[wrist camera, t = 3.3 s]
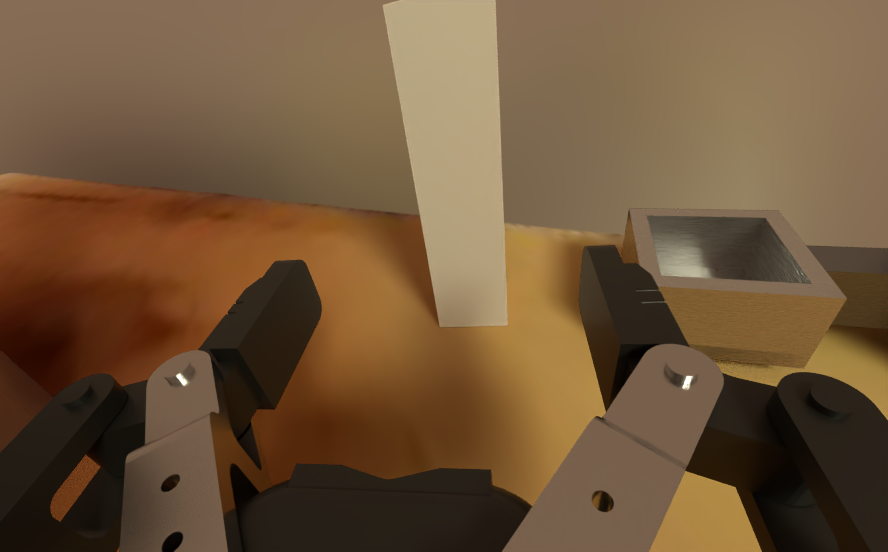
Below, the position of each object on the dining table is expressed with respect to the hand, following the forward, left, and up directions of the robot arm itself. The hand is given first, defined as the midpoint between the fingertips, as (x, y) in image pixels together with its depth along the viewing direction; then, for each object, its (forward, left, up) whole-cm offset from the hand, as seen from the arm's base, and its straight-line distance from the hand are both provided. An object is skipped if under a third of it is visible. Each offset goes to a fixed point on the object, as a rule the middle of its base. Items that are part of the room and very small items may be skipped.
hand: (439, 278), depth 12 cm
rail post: (-2, +10, -10) cm, 14 cm away
